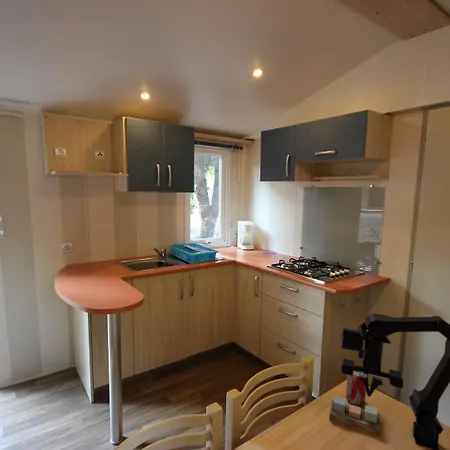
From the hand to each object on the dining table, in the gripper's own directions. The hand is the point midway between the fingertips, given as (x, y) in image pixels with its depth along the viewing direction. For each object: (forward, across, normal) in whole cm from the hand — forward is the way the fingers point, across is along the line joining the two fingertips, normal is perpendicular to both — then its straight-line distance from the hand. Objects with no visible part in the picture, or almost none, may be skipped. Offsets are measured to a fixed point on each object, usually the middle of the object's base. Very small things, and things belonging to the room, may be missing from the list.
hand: (368, 395), depth 108 cm
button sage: (+9, -1, -2) cm, 10 cm away
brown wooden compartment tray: (+12, +4, -2) cm, 13 cm away
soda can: (+12, +4, -14) cm, 19 cm away
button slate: (+9, +9, -2) cm, 13 cm away
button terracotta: (+11, +4, -2) cm, 12 cm away
